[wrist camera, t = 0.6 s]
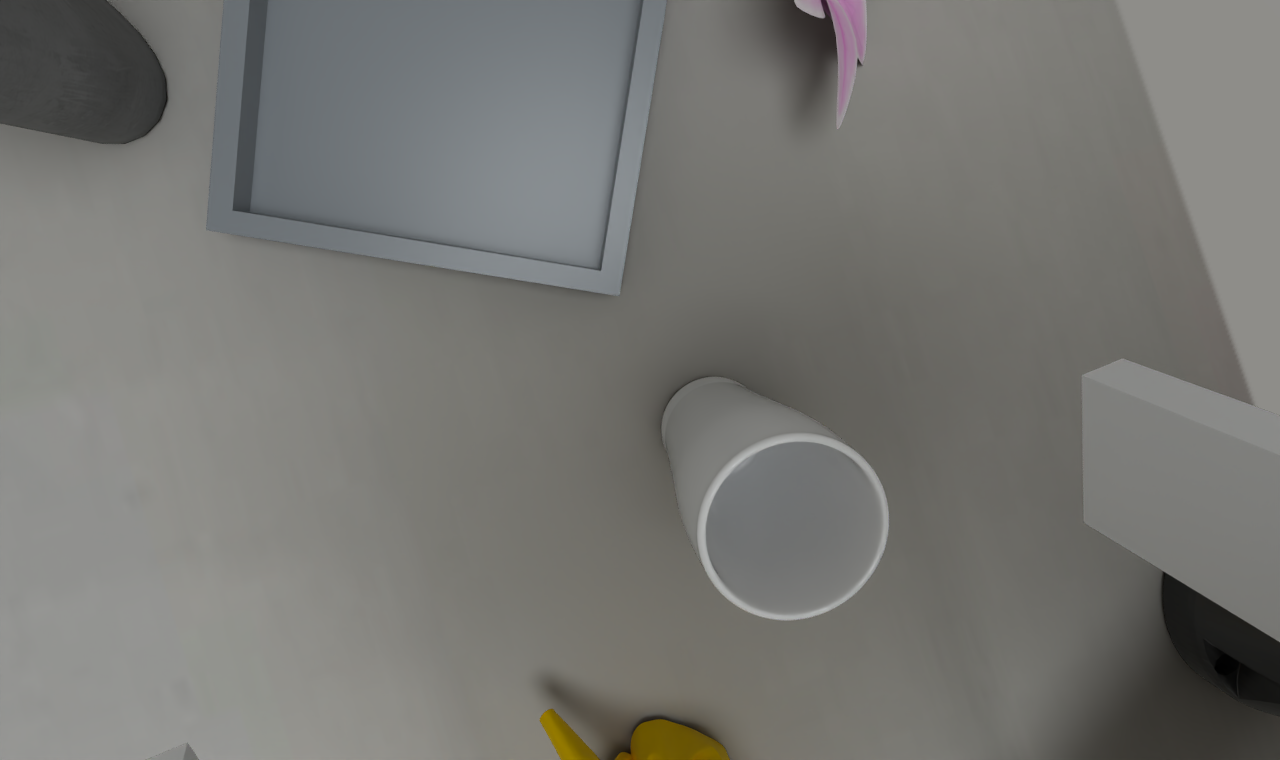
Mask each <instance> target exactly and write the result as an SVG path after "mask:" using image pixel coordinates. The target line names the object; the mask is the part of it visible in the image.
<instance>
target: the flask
mask: <svg viewBox="0 0 1280 760" xmlns="http://www.w3.org/2000/svg"><path fill="white" fill-rule="evenodd" d="M165 102H166V87H165V76H164V74H163V72H162V70H161V67H160V65H159V63H158V61H157V59H156V56H155V54H154V53H153V52H152V50H151V49H150V47H149V46H148V45H147V43H146V42H145V41H144V39H143V38H142V36H141V35H140V34H139V32H138V31H137V30H136V29H135V28H134V27H133V26H132V25H131V24H130V23H129V22H128V21H127V20H126V19H125V18H124V17H123V16H122V15H121V14H120V13H119V12H118V11H117V10H116V9H115V8H114V7H112V6H111V5H110V4H109V3H108V2H107V1H106V0H0V123H1V124H6V125H11V126H16V127H21V128H26V129H31V130H36V131H41V132H46V133H51V134H56V135H61V136H66V137H72V138H77V139H82V140H87V141H92V142H97V143H102V144H125V143H127V142H130V141H132V140H135V139H137V138H139V137H142V136H144V135H145V134H146V133H147V132H148V131H149V130H150V129H151V128H152V127H153V126H154V125H155V124H156V123H157V122H158V121H159V119H160V116H161V113H162V111H163V108H164V105H165Z"/></svg>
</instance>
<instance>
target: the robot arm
mask: <svg viewBox="0 0 1280 760" xmlns="http://www.w3.org/2000/svg"><path fill="white" fill-rule="evenodd" d="M1082 439H1083V518H1084V523H1085V524H1087V525H1088V526H1090V527H1092V528H1093V529H1095V530H1097V531H1098V532H1100V533H1102V534H1103V535H1105V536H1106V537H1108V538H1110V539H1111V540H1113V541H1115V542H1116V543H1118V544H1120V545H1121V546H1123V547H1125V548H1126V549H1128V550H1129V551H1131V552H1133V553H1134V554H1136V555H1138V556H1139V557H1141V558H1143V559H1144V560H1146V561H1148V562H1149V563H1151V564H1152V565H1154V566H1156V567H1157V568H1159V569H1161V570H1162V571H1164V572H1166V574H1165V579H1164V590H1163V602H1164V613H1165V619H1166V624H1167V627H1168V630H1169V633H1170V636H1171V638H1172V641H1173V643H1174V645H1175V647H1176V649H1177V650H1178V652H1179V653H1180V655H1181V656H1182V658H1183V659H1184V660H1185V662H1186V663H1187V664H1188V665H1189V666H1190V667H1191V668H1192V669H1193V670H1194V671H1195V672H1196V673H1198V674H1199V675H1200V676H1201V677H1203V678H1204V679H1206V680H1207V681H1209V682H1210V683H1212V684H1213V685H1214V686H1216V687H1217V688H1219V689H1220V690H1222V691H1223V692H1225V693H1226V694H1228V695H1229V696H1231V697H1232V698H1234V699H1236V700H1238V701H1240V702H1242V703H1244V704H1246V705H1248V706H1250V707H1252V708H1255V709H1257V710H1261V711H1264V712H1267V713H1270V714H1273V715H1277V716H1280V415H1278V414H1275V413H1272V412H1270V411H1267V410H1264V409H1261V408H1259V407H1256V406H1253V405H1250V404H1247V403H1245V402H1242V401H1239V400H1236V399H1234V398H1231V397H1228V396H1225V395H1223V394H1220V393H1217V392H1214V391H1211V390H1209V389H1206V388H1203V387H1200V386H1198V385H1195V384H1192V383H1189V382H1187V381H1184V380H1181V379H1178V378H1175V377H1173V376H1170V375H1167V374H1164V373H1162V372H1159V371H1156V370H1153V369H1151V368H1148V367H1145V366H1142V365H1140V364H1137V363H1134V362H1131V361H1128V360H1126V359H1123V358H1122V359H1120V360H1117V361H1115V362H1112V363H1110V364H1107V365H1105V366H1103V367H1100V368H1098V369H1095V370H1093V371H1090V372H1088V373H1086V374H1083V375H1082ZM146 760H199V759H198V757H197V756H196V754H195V753H194V751H193V750H192V748H191V747H190V746H189V744H188V743H185V744H183V745H180V746H178V747H176V748H173V749H171V750H168V751H166V752H163V753H161V754H159V755H156V756H154V757H151V758H149V759H146Z"/></svg>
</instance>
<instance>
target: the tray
mask: <svg viewBox="0 0 1280 760" xmlns="http://www.w3.org/2000/svg"><path fill="white" fill-rule="evenodd" d="M666 4H667V0H224V4H223V17H222V30H221V43H220V56H219V69H218V82H217V95H216V108H215V121H214V134H213V147H212V160H211V173H210V186H209V199H208V212H207V225H206V230H209V231H215V232H222V233H228V234H234V235H240V236H247V237H253V238H259V239H265V240H272V241H278V242H284V243H290V244H297V245H303V246H309V247H315V248H322V249H328V250H334V251H340V252H347V253H353V254H359V255H365V256H372V257H378V258H384V259H390V260H397V261H403V262H409V263H415V264H421V265H428V266H434V267H440V268H446V269H453V270H459V271H465V272H471V273H478V274H484V275H490V276H496V277H503V278H509V279H515V280H521V281H528V282H534V283H540V284H546V285H553V286H559V287H565V288H571V289H578V290H584V291H590V292H596V293H603V294H609V295H615V296H619V295H620V289H621V283H622V276H623V270H624V264H625V258H626V252H627V245H628V239H629V233H630V227H631V221H632V215H633V208H634V202H635V196H636V190H637V184H638V177H639V171H640V165H641V159H642V153H643V146H644V140H645V134H646V128H647V122H648V115H649V109H650V103H651V97H652V91H653V85H654V78H655V72H656V66H657V60H658V54H659V47H660V41H661V35H662V29H663V23H664V16H665V10H666Z"/></svg>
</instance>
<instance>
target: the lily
mask: <svg viewBox="0 0 1280 760" xmlns="http://www.w3.org/2000/svg"><path fill="white" fill-rule="evenodd" d="M794 2H795V4H796V6H797V7H798V8H799V9H801V10H802V11H804V12H806V13H808V14H810V15H813V16H815V17H818V18H824V17H825V14H824V11H825V12H826V13H827V15H828V16H829V17H830V18H831V19H832V21H833V25H834V29H835V34H836V42H837V53H838V95H837V120H836V125H837V130H838V129H839V127H840V126H841V124H842V121H843V119H844V116H845V114H846V110H847V107H848V104H849V101H850V97H851V94H852V89H853V85H854V81H855V77H856V69H857V59H859V61H860V62H861V64H862V66H863V62H864V58H865V52H866V39H867V7H866V0H794Z"/></svg>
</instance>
